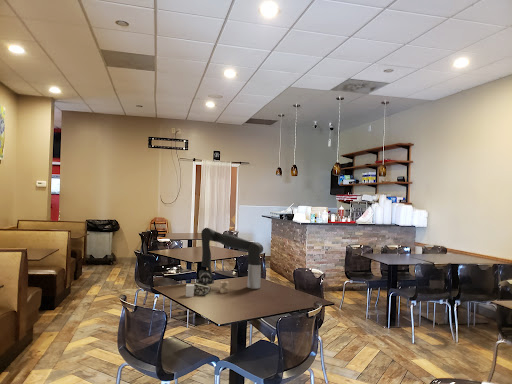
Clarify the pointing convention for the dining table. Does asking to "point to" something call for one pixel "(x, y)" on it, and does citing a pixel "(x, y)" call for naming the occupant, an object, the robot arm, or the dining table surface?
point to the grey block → (189, 290)
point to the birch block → (224, 287)
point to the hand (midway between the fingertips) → (205, 283)
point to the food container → (201, 289)
